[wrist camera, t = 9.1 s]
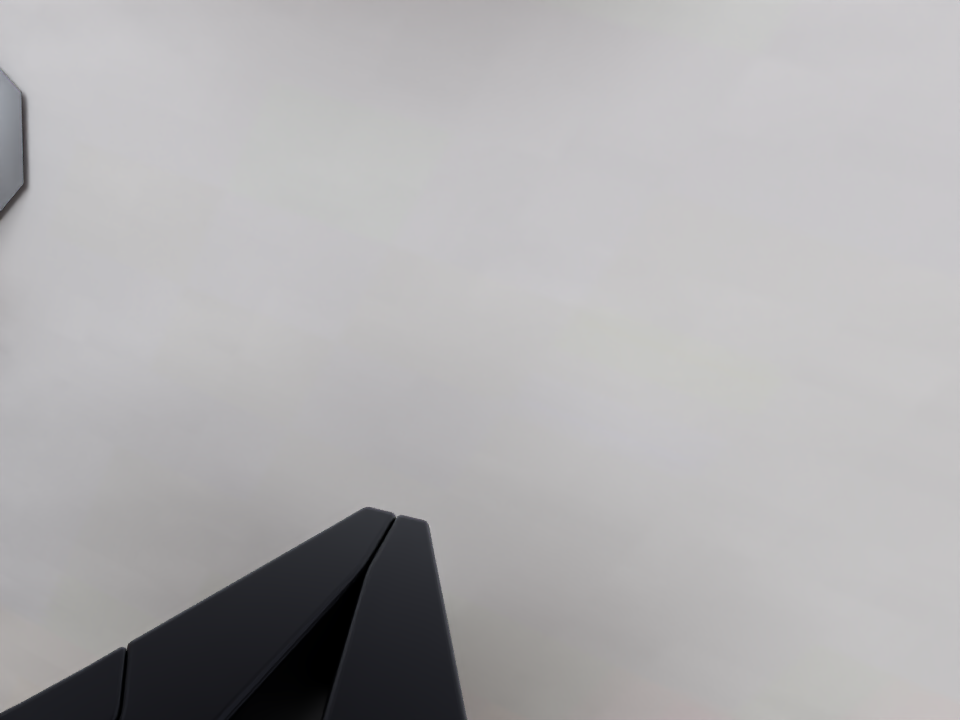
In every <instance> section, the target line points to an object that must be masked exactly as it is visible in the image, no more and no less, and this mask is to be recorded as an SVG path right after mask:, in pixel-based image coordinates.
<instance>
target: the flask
mask: <svg viewBox="0 0 960 720" xmlns="http://www.w3.org/2000/svg"><path fill="white" fill-rule="evenodd" d="M22 185H23V144H22V103H21V91H20V90H19V89H18V88H17V87H16V86H15V84H14V83H13V82H12V81H11V80H10V79H9V78H8V77H7V76H6V74H5V73H4V72H3V71H2V70H1V69H0V211H1V210H2V209H3V208H4V206H5V205H6V204H7V203H8V202H9V200H10V199H11V198H12V197H13V196H14V194H15V193H16V192H17V191H18V189H19V188H20V187H21V186H22Z"/></svg>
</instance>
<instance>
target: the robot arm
mask: <svg viewBox="0 0 960 720" xmlns="http://www.w3.org/2000/svg"><path fill="white" fill-rule="evenodd" d="M0 720H467V717H466V711H465V706H464V701H463V696H462V691H461V686H460V681H459V676H458V671H457V666H456V661H455V656H454V651H453V646H452V641H451V636H450V630H449V625H448V620H447V615H446V610H445V605H444V600H443V595H442V590H441V585H440V580H439V575H438V570H437V565H436V560H435V555H434V549H433V544H432V539H431V534H430V529H429V525H428V523H427V522H426V521H424V520H421V519H416V518H412V517H408V516H404V515H400V516H398V517H397V518H396V517H395V515H394V513H392V512H388V511H384V510H380V509H376V508H372V507H366V508H363V509H361V510H359V511H358V512H356V513H354V514H352V515H351V516H349V517H347V518H345V519H344V520H342V521H340V522H338V523H337V524H335V525H333V526H331V527H330V528H328V529H326V530H324V531H323V532H321V533H319V534H317V535H316V536H314V537H312V538H311V539H309V540H307V541H305V542H304V543H302V544H300V545H298V546H297V547H295V548H293V549H291V550H290V551H288V552H286V553H284V554H283V555H281V556H279V557H277V558H276V559H274V560H272V561H270V562H269V563H267V564H265V565H263V566H262V567H260V568H258V569H257V570H255V571H253V572H251V573H250V574H248V575H246V576H244V577H243V578H241V579H239V580H237V581H236V582H234V583H232V584H230V585H229V586H227V587H225V588H223V589H222V590H220V591H218V592H216V593H215V594H213V595H211V596H209V597H208V598H206V599H204V600H203V601H201V602H199V603H197V604H196V605H194V606H192V607H190V608H189V609H187V610H185V611H183V612H182V613H180V614H178V615H176V616H175V617H173V618H171V619H169V620H168V621H166V622H164V623H162V624H161V625H159V626H157V627H155V628H154V629H152V630H150V631H149V632H147V633H145V634H143V635H142V636H140V637H138V638H136V639H135V640H133V641H131V642H130V643H129V644H128V647H127V650H126V648H124V647H121V648H118V649H117V650H115V651H113V652H111V653H110V654H108V655H106V656H104V657H103V658H101V659H99V660H97V661H96V662H94V663H92V664H90V665H89V666H87V667H85V668H83V669H82V670H80V671H78V672H76V673H74V674H73V675H71V676H69V677H67V678H65V679H63V680H62V681H60V682H58V683H56V684H54V685H52V686H51V687H49V688H47V689H45V690H43V691H41V692H40V693H38V694H36V695H34V696H32V697H30V698H29V699H27V700H25V701H23V702H21V703H20V704H18V705H16V706H14V707H12V708H10V709H8V710H6V711H4V712H2V713H0Z"/></svg>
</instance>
